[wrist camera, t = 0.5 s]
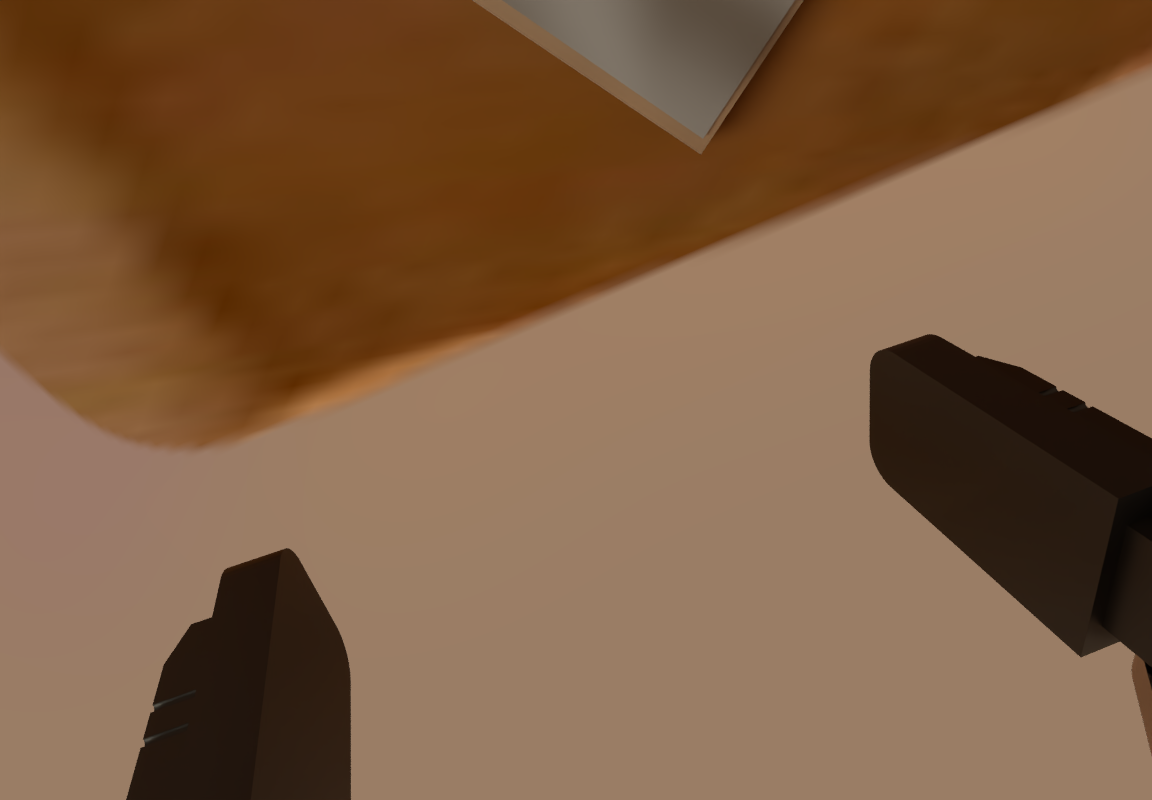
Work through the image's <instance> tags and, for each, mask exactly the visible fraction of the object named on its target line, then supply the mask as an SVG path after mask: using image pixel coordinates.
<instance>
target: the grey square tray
mask: <svg viewBox="0 0 1152 800" xmlns="http://www.w3.org/2000/svg"><path fill="white" fill-rule="evenodd" d="M473 1H474V2H475V3H477V4H478V5H480V6H481V7H483V8H484V9H486V10H487V11H489V12H490V13H492V14H493V15H495V16H496V17H498V18H499V19H501V20H502V21H504V22H505V23H507V24H508V25H510V26H511V27H513V28H514V29H515V30H517V31H518V32H520V33H521V34H523V35H524V36H526V37H527V38H529V39H530V40H532V41H533V42H535V43H536V44H538V45H539V46H541V47H542V48H544V49H545V50H547V51H548V52H550V53H551V54H553V55H554V56H556V57H557V58H558V59H560V60H561V61H563V62H564V63H566V64H567V65H569V66H570V67H572V68H573V69H575V70H576V71H578V72H579V73H581V74H582V75H584V76H585V77H587V78H588V79H590V80H591V81H593V82H594V83H596V84H597V85H598V86H600V87H601V88H603V89H604V90H606V91H607V92H609V93H610V94H612V95H613V96H615V97H616V98H618V99H619V100H621V101H622V102H624V103H625V104H627V105H628V106H630V107H631V108H633V109H634V110H636V111H637V112H639V113H640V114H641V115H643V116H644V117H646V118H647V119H649V120H650V121H652V122H653V123H655V124H656V125H658V126H659V127H661V128H662V129H664V130H665V131H667V132H668V133H670V134H671V135H673V136H674V137H676V138H677V139H679V140H680V141H681V142H683V143H684V144H686V145H687V146H689V147H690V148H692V149H693V150H695V151H696V152H698V153H699V154H702V152H703V151H704V149H705V148H706V146H707V145H708V143H709V142H710V140H711V139H712V137H713V136H714V134H715V133H716V131H717V130H718V128H719V127H720V125H721V124H722V122H723V121H724V119H725V118H726V116H727V115H728V113H729V112H730V110H731V109H732V107H733V106H734V104H735V103H736V101H737V100H738V98H739V97H740V95H741V94H742V92H743V91H744V89H745V88H746V86H747V85H748V83H749V82H750V80H751V79H752V77H753V76H754V74H755V73H756V71H757V70H758V68H759V67H760V65H761V64H762V62H763V61H764V59H765V58H766V56H767V55H768V53H769V52H770V50H771V49H772V47H773V46H774V44H775V43H776V41H777V40H778V38H779V37H780V35H781V34H782V32H783V31H784V29H785V28H786V26H787V25H788V23H789V22H790V20H791V19H792V17H793V16H794V14H795V13H796V11H797V10H798V8H799V7H800V5H801V4H802V2H803V1H804V0H473Z"/></svg>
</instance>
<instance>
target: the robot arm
mask: <svg viewBox="0 0 1152 800" xmlns="http://www.w3.org/2000/svg"><path fill="white" fill-rule="evenodd" d="M870 450H871V454H872V457H873V460H874V463H875V465H876V467H877V469H878V471H879V473H880V474H881V476H882V477H883V479H884V480H885V481H886V483H887V484H888V485H890V487H892V488H893V489H894V490H895V491H896V492H897V493H898V494H899V495H900V496H901V497H903V498H904V499H905V500H906V501H907V502H908V503H909V504H911V505H912V506H913V507H914V508H915V509H916V510H917V511H918V512H919V513H921V514H922V515H923V516H924V517H925V518H926V519H927V520H928V521H929V522H931V523H932V524H933V525H934V526H935V527H936V528H937V529H938V530H939V531H941V532H942V533H943V534H944V535H945V536H946V537H947V538H948V539H949V540H951V541H952V542H953V543H954V544H955V545H956V546H957V547H958V548H960V549H961V550H962V551H963V552H964V553H965V554H966V555H967V556H969V558H971V559H972V560H973V561H974V562H975V563H976V564H977V565H978V566H980V567H981V568H982V569H983V570H984V571H985V572H986V573H987V574H989V575H990V576H991V577H992V578H993V579H994V580H996V582H997V583H999V584H1000V585H1001V586H1002V587H1003V588H1004V589H1005V590H1006V591H1007V592H1009V593H1010V594H1011V595H1012V596H1013V597H1014V598H1016V600H1017V601H1019V602H1020V603H1021V604H1022V605H1023V606H1024V607H1025V608H1026V609H1028V610H1029V611H1030V612H1031V613H1032V614H1033V615H1034V616H1036V618H1038V619H1039V620H1040V621H1041V622H1042V623H1043V624H1044V625H1045V626H1046V627H1048V628H1049V629H1050V630H1051V631H1052V632H1053V633H1054V634H1055V635H1056V636H1058V637H1059V638H1060V639H1061V640H1062V641H1063V642H1064V643H1065V644H1067V645H1068V646H1069V647H1070V648H1071V649H1072V650H1073V651H1074V652H1076V653H1077V654H1078V655H1079V656H1080V657H1083V656H1085V655H1088V654H1090V653H1093V652H1095V651H1097V650H1100V649H1103V648H1105V647H1107V646H1110V645H1112V644H1115V643H1117V642H1122V643H1123V644H1124V645H1125V646H1127V647H1128V648H1129V649H1130V650H1131V651H1133V652H1134V653H1135V656H1134V659H1133V663H1132V669H1131V671H1132V679H1133V682H1134V686H1135V691H1136V695H1137V699H1138V703H1139V707H1140V711H1141V715H1142V718H1143V723H1144V727H1145V731H1146V735H1147V739H1148V743H1149V747H1150V750H1151V755H1152V438H1150V437H1148V436H1146V435H1144V434H1142V433H1141V432H1139V431H1137V430H1135V429H1133V428H1131V427H1129V426H1128V425H1126V424H1124V423H1122V422H1120V421H1119V420H1117V419H1115V418H1113V417H1111V416H1109V415H1108V414H1106V413H1104V412H1102V411H1100V410H1098V409H1096V408H1094V407H1090V408H1087V406H1086V405H1085V402H1084V401H1082V400H1080V399H1078V398H1076V397H1075V396H1073V395H1071V394H1069V393H1067V392H1065V391H1060V392H1058V391H1057V389H1056V386H1054V385H1053V384H1051V383H1049V382H1047V381H1045V380H1043V379H1042V378H1040V377H1038V376H1036V375H1034V374H1032V373H1030V372H1028V371H1027V370H1025V369H1023V368H1021V367H1017V366H1014V365H1010V364H1006V363H1003V362H999V361H995V360H992V359H988V358H984V357H981V356H977V357H974V356H973V355H971V354H969V353H967V352H965V351H964V350H962V349H960V348H959V347H957V346H955V345H953V344H952V343H950V342H948V341H946V340H945V339H943V338H941V337H939V336H936V335H932V334H931V335H930V334H929V335H925V336H922V337H919V338H916V339H913V340H910V341H907V342H904V343H901V344H898V345H895V346H892V347H890V348H886V349H883V350H880V351H878V352H876V353H875V355H874V356H873V358H872V360H871V364H870ZM350 684H351V681H350V668H349V662H348V657H347V653H346V650H345V646H344V643H343V640H342V637H341V635H340V633H339V631H338V628H337V626H336V625H335V623H334V621H333V619H332V617H331V616H330V614H329V612H328V610H327V608H326V607H325V605H324V603H323V601H322V600H321V598H320V596H319V594H318V592H317V591H316V589H315V587H314V585H313V583H312V582H311V580H310V578H309V576H308V575H307V573H306V571H305V569H304V567H303V565H302V564H301V562H300V560H299V558H298V557H297V556H296V554H295V553H294V552H293V551H292V550H290V549H287V548H286V549H284V550H280V551H277V552H274V553H271V554H268V555H265V556H262V557H259V558H257V559H253V560H250V561H248V562H244V563H241V564H239V565H236V566H233V567H230V568H227V569H226V570H224V572H223V574H222V576H221V580H220V584H219V589H218V593H217V598H216V603H215V607H214V612H213V616H212V618H209V619H206V620H203V621H200V622H197V623H194V624H191V626H190V627H189V629H188V630H187V632H186V633H185V635H184V636H183V637H182V639H181V640H180V642H179V643H178V645H177V646H176V648H175V649H174V651H173V652H172V653H171V655H170V657H169V658H168V659H167V661H166V662H165V664H164V666H163V670H162V673H161V677H160V681H159V684H158V688H157V691H156V695H155V699H154V702H153V706H154V712H152V713H150V716H149V720H148V724H147V727H146V731H145V734H144V738H143V739H144V742H145V747H142V748H141V749H140V752H139V756H138V760H137V763H136V767H135V770H134V774H133V778H132V781H131V785H130V788H129V792H128V796H127V799H126V800H351V718H350V717H351V707H350V706H351V702H350V701H351V696H350V691H351V689H350V688H351V687H350V686H351V685H350Z"/></svg>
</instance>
